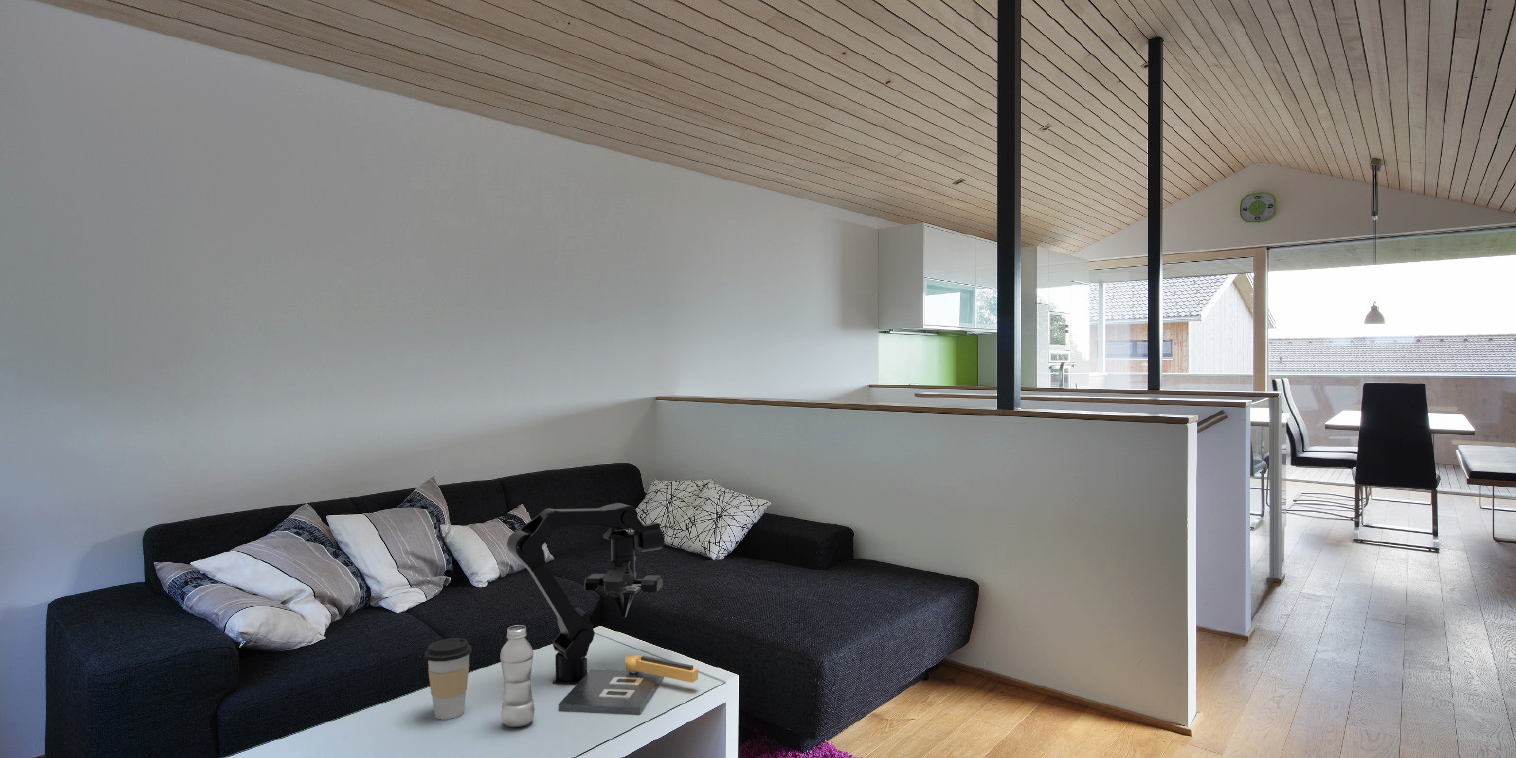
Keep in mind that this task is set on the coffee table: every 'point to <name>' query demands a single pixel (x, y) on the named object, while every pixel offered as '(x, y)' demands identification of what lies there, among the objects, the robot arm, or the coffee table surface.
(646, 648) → the coffee table surface
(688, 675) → the bar
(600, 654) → the coffee table surface
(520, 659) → the plastic bottle
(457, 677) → the coffee cup
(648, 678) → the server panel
